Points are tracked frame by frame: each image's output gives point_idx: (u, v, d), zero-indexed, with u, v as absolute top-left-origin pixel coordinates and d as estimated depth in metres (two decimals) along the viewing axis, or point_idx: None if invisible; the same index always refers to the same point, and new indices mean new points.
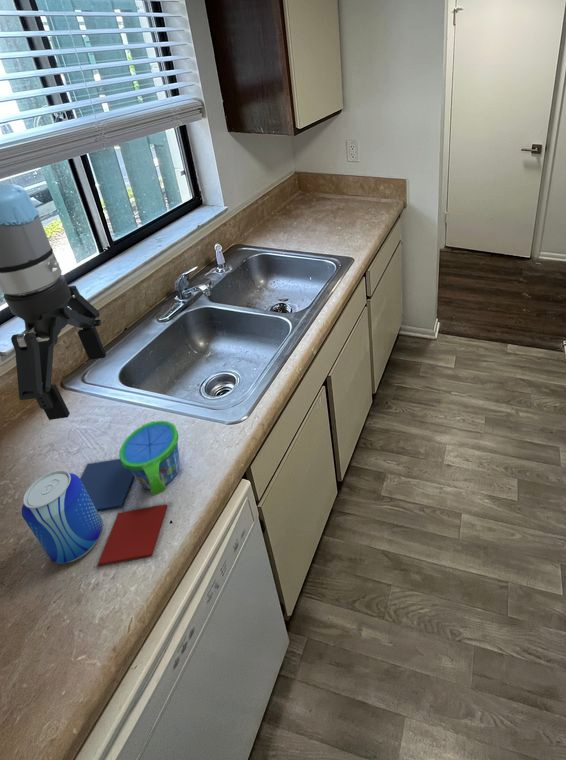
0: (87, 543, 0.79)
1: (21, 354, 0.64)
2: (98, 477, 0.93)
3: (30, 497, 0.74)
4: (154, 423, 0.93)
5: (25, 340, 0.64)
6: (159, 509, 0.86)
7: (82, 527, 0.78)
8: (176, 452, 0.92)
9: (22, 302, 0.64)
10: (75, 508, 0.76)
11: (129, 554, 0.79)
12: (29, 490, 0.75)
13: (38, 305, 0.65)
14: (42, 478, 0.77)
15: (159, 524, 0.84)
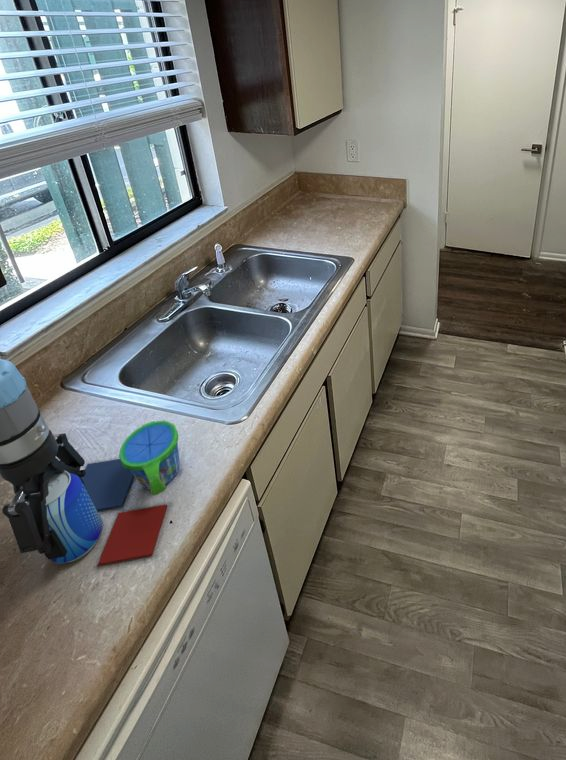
0: (87, 543, 0.79)
1: (15, 520, 0.68)
2: (98, 477, 0.93)
3: None
4: (154, 423, 0.93)
5: (16, 511, 0.67)
6: (159, 509, 0.86)
7: (82, 527, 0.78)
8: (176, 452, 0.92)
9: (11, 470, 0.67)
10: (75, 508, 0.76)
11: (129, 554, 0.79)
12: None
13: (26, 470, 0.68)
14: None
15: (159, 524, 0.84)
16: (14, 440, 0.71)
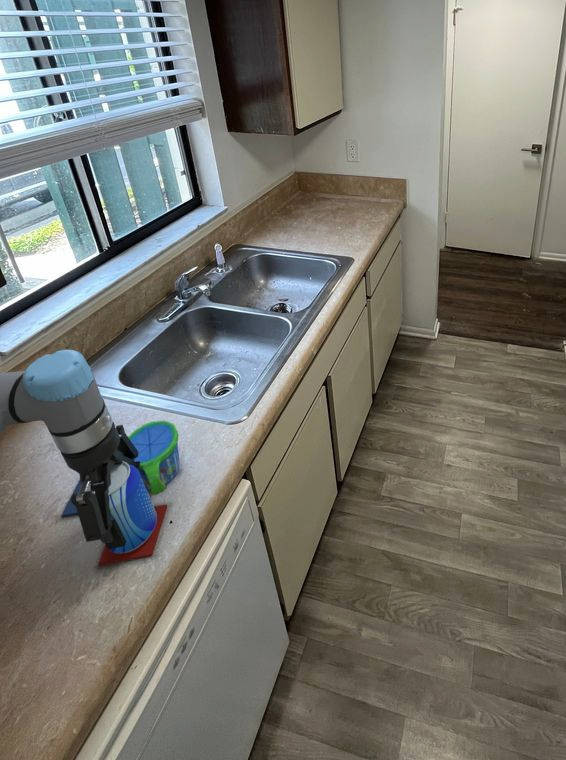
0: (145, 533, 0.80)
1: (82, 509, 0.69)
2: None
3: None
4: (154, 423, 0.93)
5: (84, 500, 0.68)
6: (159, 509, 0.86)
7: (140, 517, 0.78)
8: (176, 452, 0.92)
9: (79, 459, 0.68)
10: (135, 498, 0.77)
11: (129, 554, 0.79)
12: None
13: (93, 460, 0.69)
14: None
15: (159, 524, 0.84)
16: None
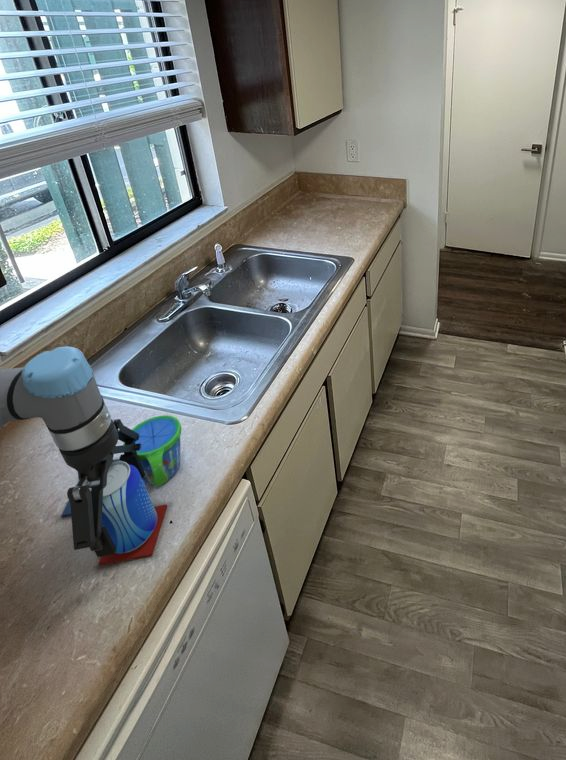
0: (145, 533, 0.80)
1: (76, 507, 0.67)
2: None
3: None
4: (158, 417, 0.95)
5: (80, 494, 0.67)
6: (159, 509, 0.86)
7: (141, 517, 0.78)
8: (178, 446, 0.93)
9: (77, 457, 0.68)
10: (135, 498, 0.77)
11: (129, 554, 0.79)
12: None
13: (91, 457, 0.69)
14: None
15: (159, 524, 0.84)
16: None
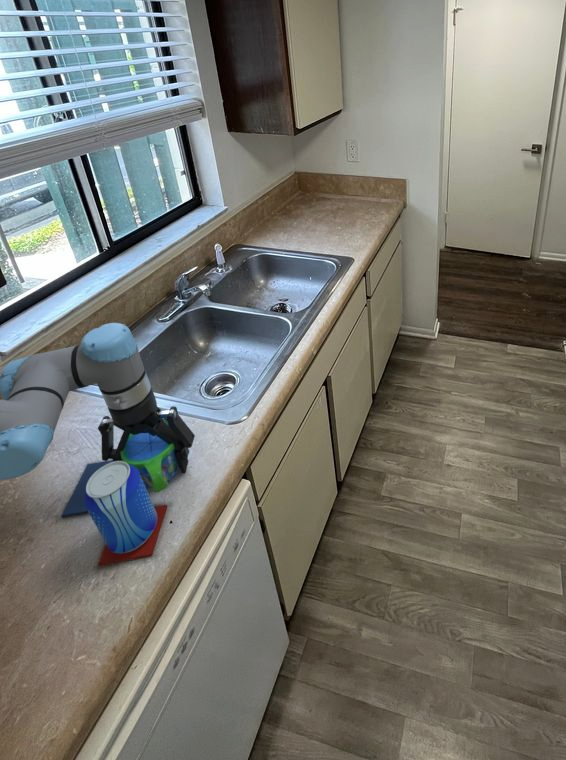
0: (145, 533, 0.80)
1: None
2: None
3: (92, 487, 0.75)
4: None
5: None
6: (159, 509, 0.86)
7: (141, 517, 0.78)
8: None
9: None
10: (135, 498, 0.77)
11: (129, 554, 0.79)
12: (91, 480, 0.76)
13: (110, 413, 0.83)
14: (102, 468, 0.78)
15: (159, 524, 0.84)
16: None
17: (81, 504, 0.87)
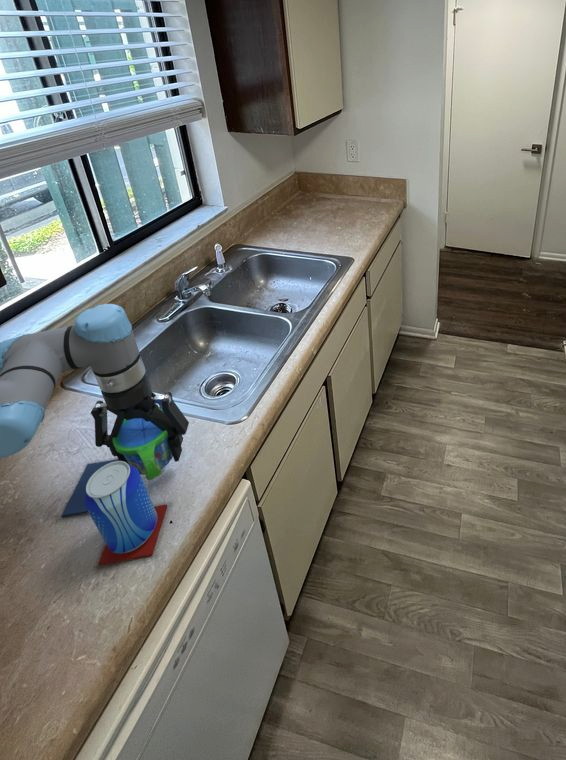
0: (145, 533, 0.80)
1: None
2: None
3: (92, 487, 0.75)
4: None
5: None
6: (159, 509, 0.86)
7: (141, 517, 0.78)
8: None
9: None
10: (135, 498, 0.77)
11: (129, 554, 0.79)
12: (91, 480, 0.76)
13: (103, 397, 0.81)
14: (102, 468, 0.78)
15: (159, 524, 0.84)
16: None
17: (81, 504, 0.87)
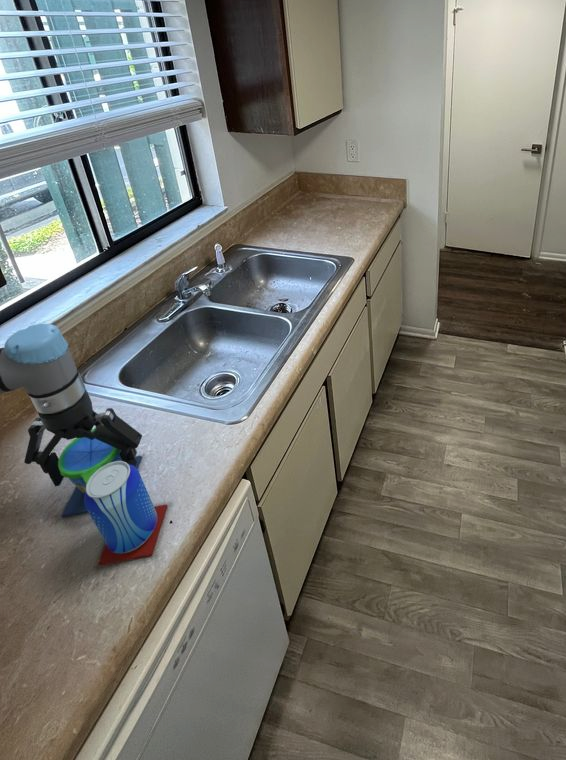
0: (145, 533, 0.80)
1: None
2: None
3: (92, 487, 0.75)
4: None
5: None
6: (159, 509, 0.86)
7: (141, 517, 0.78)
8: (119, 458, 0.90)
9: None
10: (135, 498, 0.77)
11: (129, 554, 0.79)
12: (91, 480, 0.76)
13: None
14: (102, 468, 0.78)
15: (159, 524, 0.84)
16: None
17: (81, 504, 0.87)
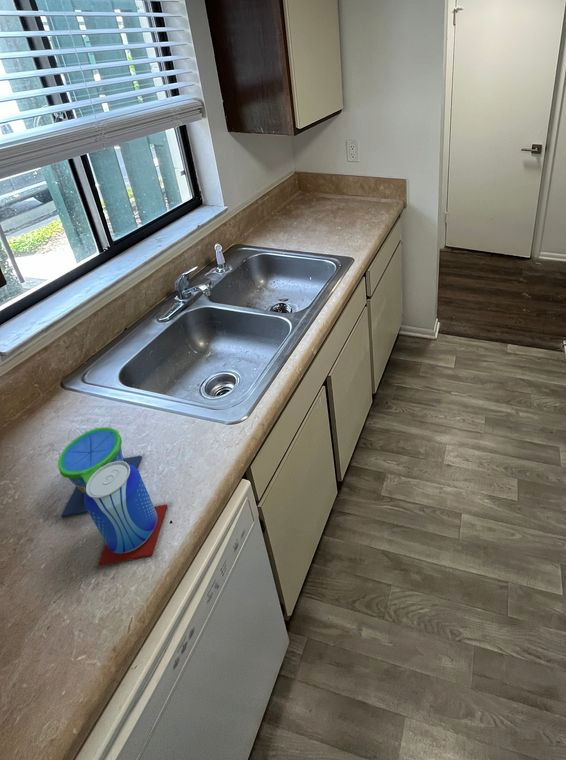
0: (145, 533, 0.80)
1: None
2: None
3: (92, 487, 0.75)
4: (97, 430, 0.91)
5: None
6: (159, 509, 0.86)
7: (141, 517, 0.78)
8: (119, 458, 0.90)
9: None
10: (135, 498, 0.77)
11: (129, 554, 0.79)
12: (91, 480, 0.76)
13: None
14: (102, 468, 0.78)
15: (159, 524, 0.84)
16: None
17: (81, 504, 0.87)
